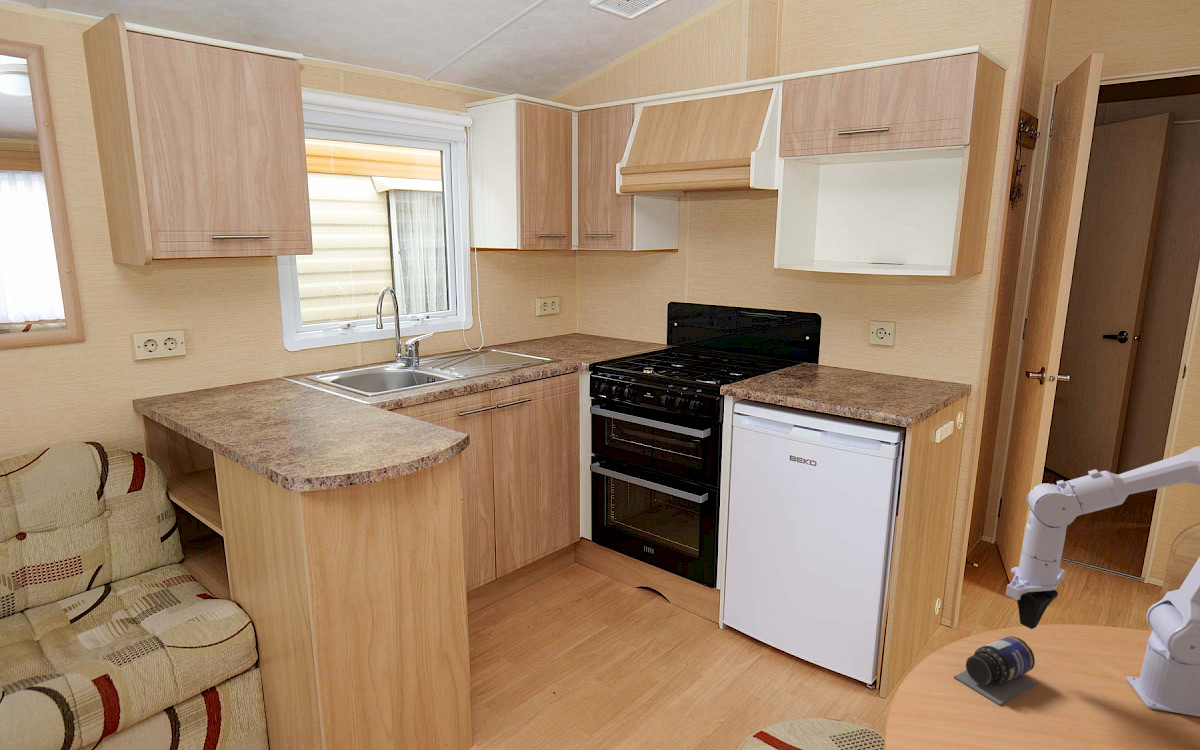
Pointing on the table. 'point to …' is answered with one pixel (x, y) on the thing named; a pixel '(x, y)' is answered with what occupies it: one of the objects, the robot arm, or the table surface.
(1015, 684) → the rubber mat
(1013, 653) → the pill bottle
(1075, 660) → the table surface
